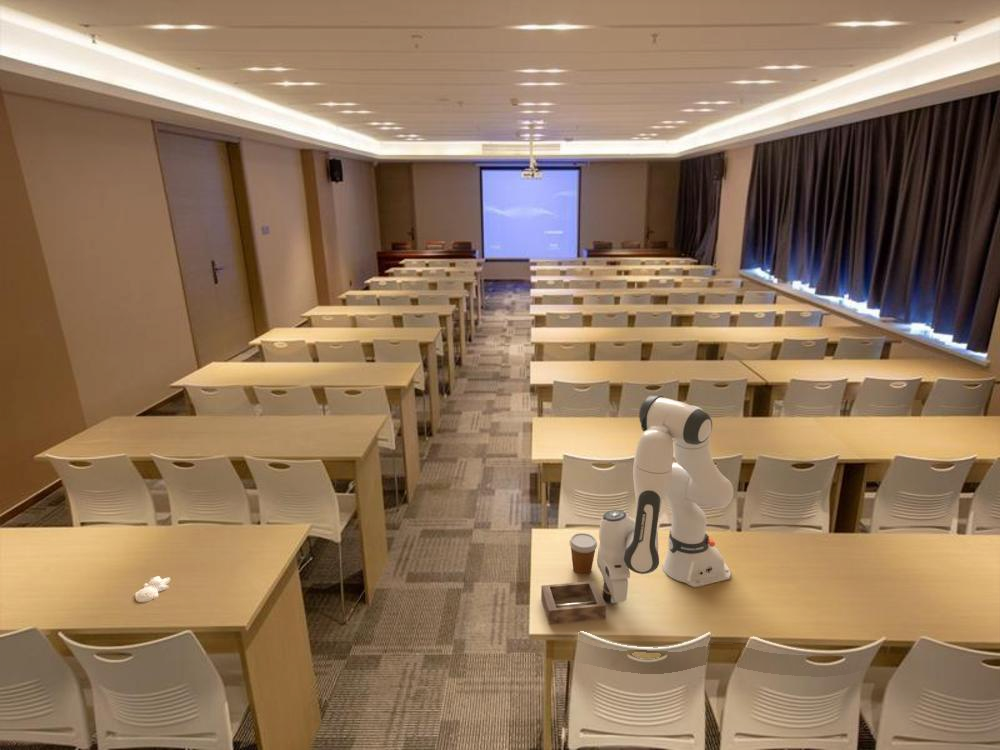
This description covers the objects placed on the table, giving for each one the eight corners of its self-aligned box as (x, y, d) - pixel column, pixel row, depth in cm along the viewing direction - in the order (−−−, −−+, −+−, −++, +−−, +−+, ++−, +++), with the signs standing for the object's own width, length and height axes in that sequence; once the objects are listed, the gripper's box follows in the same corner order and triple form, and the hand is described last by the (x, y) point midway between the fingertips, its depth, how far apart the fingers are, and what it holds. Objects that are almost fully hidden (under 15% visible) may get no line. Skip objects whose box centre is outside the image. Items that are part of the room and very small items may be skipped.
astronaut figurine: (177, 581, 207) (175, 574, 206) (149, 604, 196) (148, 597, 195) (156, 577, 209) (154, 570, 208) (127, 600, 198) (125, 592, 197)
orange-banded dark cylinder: (614, 593, 199) (614, 580, 198) (618, 602, 195) (619, 589, 194) (600, 594, 199) (601, 582, 197) (604, 604, 195) (605, 591, 193)
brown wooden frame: (595, 593, 199) (595, 580, 198) (605, 618, 188) (606, 605, 187) (541, 598, 197) (541, 585, 196) (548, 624, 186) (548, 610, 184)
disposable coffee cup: (595, 579, 206) (596, 549, 202) (567, 576, 208) (568, 546, 204) (596, 563, 215) (598, 533, 211) (569, 560, 217) (570, 530, 213)
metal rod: (597, 602, 191) (597, 600, 190) (598, 604, 190) (598, 602, 190) (550, 607, 189) (551, 604, 189) (551, 609, 188) (551, 606, 188)
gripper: (593, 540, 202) (591, 575, 206) (611, 578, 182) (609, 616, 187) (611, 538, 202) (609, 573, 207) (632, 577, 183) (629, 614, 187)
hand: (609, 594), depth 197 cm, fingers open, 5 cm apart
